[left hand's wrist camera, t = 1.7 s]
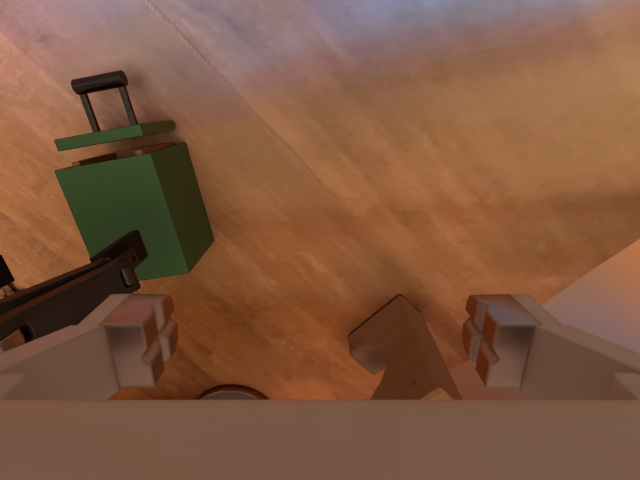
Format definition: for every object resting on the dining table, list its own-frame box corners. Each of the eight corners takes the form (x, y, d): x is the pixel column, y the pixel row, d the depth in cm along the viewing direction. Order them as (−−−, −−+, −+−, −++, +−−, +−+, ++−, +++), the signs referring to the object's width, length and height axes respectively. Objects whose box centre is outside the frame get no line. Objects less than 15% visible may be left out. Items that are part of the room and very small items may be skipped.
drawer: (83, 84, 45) (29, 80, 37) (157, 70, 45) (119, 63, 36) (135, 226, 52) (98, 251, 43) (200, 215, 51) (176, 238, 43)
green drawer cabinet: (109, 156, 49) (53, 170, 39) (186, 142, 49) (150, 153, 38) (143, 252, 54) (102, 286, 44) (214, 240, 53) (189, 273, 43)
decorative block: (369, 356, 60) (391, 471, 41) (346, 335, 59) (358, 444, 40) (423, 316, 58) (473, 419, 39) (400, 292, 56) (441, 388, 37)
